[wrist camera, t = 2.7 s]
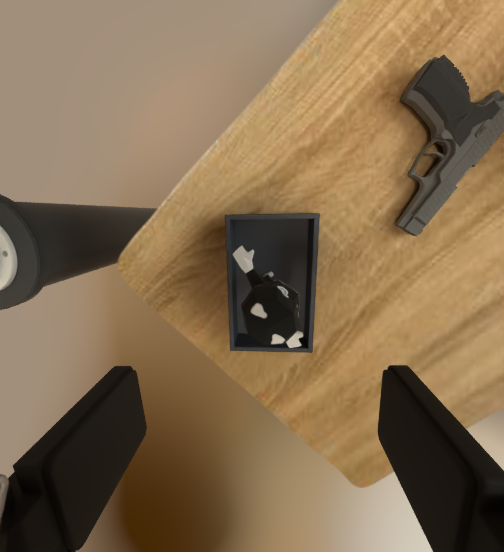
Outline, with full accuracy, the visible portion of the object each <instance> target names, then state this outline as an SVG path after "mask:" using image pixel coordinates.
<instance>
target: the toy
mask: <svg viewBox="0 0 504 552" xmlns="http://www.w3.org/2000/svg"><path fill="white" fill-rule="evenodd" d="M253 254H254V250H251V251H250V252H247V251H246V250H245V249H244V248H243V246H241V247H239V248H238V249H237V250H236V251H235V252H234V253H233V254H232V255H233V256H234V258H235V259H236V261H237V263H238V264H239V266H240V267H241V269H242V270H243V271H244V272H245V273H246V276H247V278H248V280H249V283H250V285H251V287H252V290H251V291H250V292H249V294H248V295H247V297H246V298H245V300H244V301H243V303H242V304H241V309H242V314H243V320H244V326H245V329H246V330H247V333H248V335H249V336H251V337H252V338H253V339H255V340H256V341H258V342H259V343H261V344H262V345H270V344H285V343H287V345H288V346H289V348H293V347H299V346H302V345H301V343H300V342H299V338H301V337H303V333H302V332H299V331H298V330H299V329H300V328H301V324H300V319H299V316H300V313H299V293H298V292H296V291H295V290H293V289H292V288H290V287H289V286H287V285H286V284H284V283H283V282H281V281H279V280H274V281H273V280H271V279H270V278H271V277H272V276H273V275H274V274H273V273H272V271H271V272H268V273H266V274H265V275H264V276H263V277H264V278H262V277H260V276H259V274H258V273H257V271H256V270H255V269H254V267H253V263H252V258H253Z"/></svg>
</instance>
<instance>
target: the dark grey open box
mask: <svg viewBox="0 0 504 552" xmlns="http://www.w3.org/2000/svg"><path fill="white" fill-rule="evenodd" d="M319 218H320V214H244V215H225V227H226V253H227V280H228V306H229V333H230V351H234V350H235V351H267V352H308V353H312V352H313V333H314V313H315V294H316V275H317V256H318V237H319ZM241 246H243V248H244V249H245V250H246V251H247V252H250V251H251V250H254V254H253V258H252V263H253V267H254V269H255V270H256V271H257V273H258V274H259V276H260V277H262V278H264V277H263V276H264V275H265V274H266V273H268V272H271V271H272V273H273V274H274V275H273V276H272V277H271V278H270V279H271V280H273V281H274V280H279V281H281V282H283V283H284V284H286V285H287V286H289V287H290V288H292V289H293V290H295V291H296V292H298V293H299V313H300V316H299V319H300V324H301V328H300V329H299V330H298V331H299V332H302V333H303V337H301V338H299V342H300V343H301V345H302V346H299V347H293V348H289V346H288V345H287V343H285V344H270V345H262V344H261V343H259V342H258V341H256V340H255V339H253V338H252V337H251V336H249V335H248V333H247V330H246V329H245V326H244V320H243V314H242V309H241V304H242V303H243V301H244V300H245V298H246V297H247V295H248V294H249V292H250V291H251V290H252V287H251V285H250V283H249V280H248V278H247V276H246V273H245V272H244V271H243V270H242V269H241V267H240V266H239V264H238V263H237V261H236V259H235V258H234V256H233V255H232V254H233V253H234V252H235V251H236V250H237V249H238V248H239V247H241Z"/></svg>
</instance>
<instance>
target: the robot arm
mask: <svg viewBox="0 0 504 552" xmlns="http://www.w3.org/2000/svg"><path fill="white" fill-rule="evenodd" d="M16 272H17V254H16V250H15V247H14V245H13V242H12V241H11V239H10V237H9V235H8V234H7V233H6V232H5V230H4V229H3V228H2V227H1V226H0V291H1V290H3V289H5V288H6V287H7V286H9V285H10V284H11V282H12V281H13V280H14V277H15V275H16ZM146 428H147V427H146V421H145V415H144V410H143V404H142V400H141V394H140V388H139V383H138V378H137V373H136V371H135V370H133V368H132V367H131V366H115V367H113V368H112V369H111V370H110V371H109V372H108V373H107V374H106V375H105V376H104V377H103V378H102V379H101V380H100V381H99V382H98V383H97V384H96V385H95V386H94V387H93V388H92V389H91V390H90V391H89V392H88V393H87V394H86V395H85V396H84V397H82V399H80V400H79V401H78V402H77V403H76V404H75V405H74V406H73V407H72V408H71V409H70V410H69V411H68V412H67V413H66V414H65V415H64V416H63V417H62V418H61V419H60V420H59V421H58V422H57V423H56V424H55V425H54V426H53V427H52V428H51V429H50V430H49V431H48V432H47V433H46V434H45V435H44V436H43V437H42V438H41V439H40V440H39V441H38V442H37V443H36V444H35V445H33V446H32V447H31V449H29V451H27V452H26V453H25V454H24V455H23V456H22V457H21V458H20V459H19V460H18V461H17V462H16V463H15V464H14V465H13V468H14V471H15V472H14V473H13V474H12V475H11V476H10V477H9V478H7V477H6V476H5V475H1V474H0V552H75V551H76V550H79V549H80V548H81V547H82V546H83V545H84V543H85V542H86V540H87V538H88V536H89V534H90V533H91V531H92V529H93V527H94V526H95V524H96V522H97V520H98V518H99V517H100V515H101V513H102V511H103V509H104V507H105V506H106V504H107V502H108V501H109V499H110V497H111V495H112V494H113V492H114V490H115V488H116V486H117V485H118V483H119V481H120V479H121V478H122V476H123V474H124V472H125V470H126V469H127V467H128V465H129V463H130V462H131V460H132V458H133V456H134V454H135V453H136V451H137V449H138V447H139V446H140V444H141V442H142V440H143V438H144V436H145V434H146ZM378 436H379V440H380V443H381V445H382V447H383V449H384V451H385V453H386V455H387V457H388V459H389V461H390V463H391V465H392V467H393V469H394V472H395V474H396V476H397V477H398V480H399V482H400V484H401V486H402V488H403V490H404V492H405V494H406V496H407V498H408V500H409V503H410V505H411V507H412V509H413V511H414V513H415V515H416V517H417V519H418V521H419V523H420V525H421V527H422V529H423V532H424V534H425V535H426V538H427V540H428V542H429V544H430V546H431V548H432V550H433V552H504V471H503V470H502V468H501V467H500V466H499V465H498V464H497V463H496V462H495V461H494V460H493V458H492V457H491V456H490V455H489V454H488V453H487V452H486V451H485V450H484V449H483V448H482V446H481V445H480V444H479V443H478V442H477V441H476V440H475V439H474V438H473V437H472V435H471V434H470V433H469V432H468V431H467V430H466V429H465V428H464V427H463V426H462V424H461V423H460V422H459V421H458V420H457V419H456V418H455V417H454V416H453V415H452V413H451V412H450V411H449V410H448V409H447V408H446V407H445V406H444V405H443V404H442V403H441V402H440V401H439V400H438V398H437V397H436V396H435V395H434V394H433V393H432V392H431V391H430V390H429V389H428V387H427V386H426V385H425V384H424V383H423V382H422V381H421V380H420V379H419V378H418V376H417V375H416V374H415V373H414V372H413V371H412V370H411V369H410V368H409V367H408V366H406V365H390V366H389V367H388V369H387V370H384V371H383V377H382V388H381V399H380V411H379V422H378Z"/></svg>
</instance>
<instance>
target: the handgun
mask: <svg viewBox="0 0 504 552" xmlns="http://www.w3.org/2000/svg"><path fill="white" fill-rule="evenodd" d="M409 84H410V85H408V88H407V89H406V91H405V92H404V94H403V95H402V97H401V101H402V102H404V103H406V104H408V105H409V106H411V107H412V108H413V109H414V110H415V111H416V112H417V113H418V115H419V116H420V117H421V118H422V119H423V120H424V121H425V123H426V124H427V125H428V127H429V128H430V131H431V142H430V143H429V144H428V145H427V146H426V147H425V148H424V149H423V150H422V151H421V152H420V153H419V154H418V156H417V157H416V159H415V161H414V163H413V165H412V167H411V169H410V171H409V173H408V176H409V177H413V178H415V179H416V180H418V182H419V185H420V187H419V191H418V192H417V193H416V195H415V196H414V198H413V199H412V201H411V202H410V204H409V205H408V207H407V208H406V209H405V211H404V212H403V214H402V216H401V217H400V218H399V220H398V221H397V222H396V223H395V224H396V225H397V226H399V227H400V228H401V229H403V230H404V231H406V232H408V233H409V234H411V235H414V236H418V235H419V234H420V233H421V232H422V231H423V228H424V227H425V226H426V225H427V224H428V223H429V221H430V220H431V219H432V218H433V216H434V215H435V214H436V213H437V212H438V210H439V209H440V208H441V207H442V205H443V204H444V203H445V202H446V201H447V199H448V198H449V197H450V196H451V195H452V193H453V192H454V191H455V190H456V188H457V187H456V185H457V184H458V182H459V181H460V180H461V179H462V178H463V176H464V175H465V174H466V173H467V171H468V170H469V169H470V168H471V167H474V166H475V165H476V164H477V163H478V162H479V160H480V159H481V158H482V157H483V155H484V154H485V153H486V152H487V151H488V149H489V148H490V147H491V146H492V145H493V143H494V142H495V141H496V140H497V138H498V137H499V136H500V135H501V134H502V132H503V131H504V94H503V93H502V92H500V90H497V91H494V92H492V93H490V94H489V95H487V96H486V97H485V98H484V99H483V100H482V101H481V102H479V103H478V104H476V103H473V102H471V101H470V95H469V92H468V90H469V86H467V83H466V82H465V79H463V76H461V72H460V73H459V70H458V69H457V68H456V67H454V64H453V63H452V62H451V61H450V60H449V59H448V58H447V57H446V56H445V55H443V56H441V57H440V58H437V57H434V58H433V59H432V60H429V61H427V62H426V63H425V64H424V65H423V66H422V68H421V69H420V70H419V71H418V73H417V74H416V76H415V77H414V79H413V80H412V81H411V82H410V83H409ZM433 143H438V144H440V145H441V146H442V148H443V154H441V153H440V152H436V151H432V152H428V153H426V154H425V155H427V154H434V155H436V156H437V157H439V160H438V162H437V163H436V164H435V166H434V167H433V168H432V170H431V171H430V172H429V174H428V175H427V176H425V177H420V176H419V175H417V173H416V164H417V162H418V160H419V159H420V157H421V155H422V154H423V153H424V152H425V150H426V149H427V148H428V147H430V146H431V145H432V144H433Z"/></svg>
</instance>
